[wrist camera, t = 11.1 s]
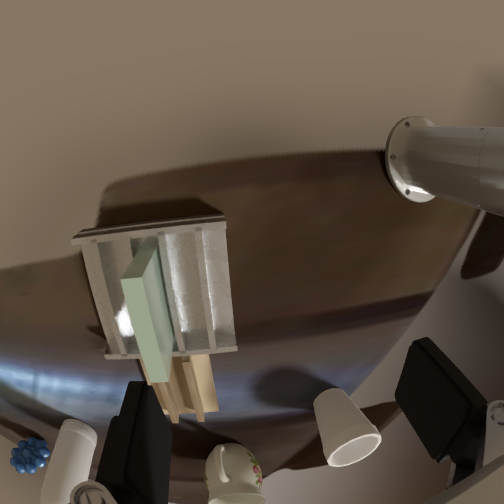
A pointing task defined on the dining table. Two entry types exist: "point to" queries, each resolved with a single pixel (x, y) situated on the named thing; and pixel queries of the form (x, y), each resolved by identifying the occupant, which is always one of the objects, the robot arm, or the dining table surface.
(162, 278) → the sage green plank
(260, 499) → the pitcher
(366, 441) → the foam cup
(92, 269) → the rack
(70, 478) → the bottle
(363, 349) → the dining table surface
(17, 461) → the grapes
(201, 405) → the stand
